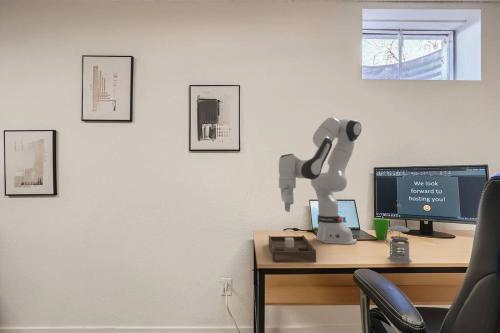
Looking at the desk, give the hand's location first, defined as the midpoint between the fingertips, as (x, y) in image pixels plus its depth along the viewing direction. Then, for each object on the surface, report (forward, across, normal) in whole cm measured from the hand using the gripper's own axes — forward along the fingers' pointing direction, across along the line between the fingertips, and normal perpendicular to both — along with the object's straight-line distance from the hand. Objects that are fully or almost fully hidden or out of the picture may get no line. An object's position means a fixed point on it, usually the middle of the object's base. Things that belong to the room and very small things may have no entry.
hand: (287, 211), depth 151 cm
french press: (+19, -20, -47) cm, 55 cm away
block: (+17, -7, 0) cm, 18 cm away
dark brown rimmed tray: (+19, -8, 0) cm, 21 cm away
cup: (+19, +18, -58) cm, 63 cm away
